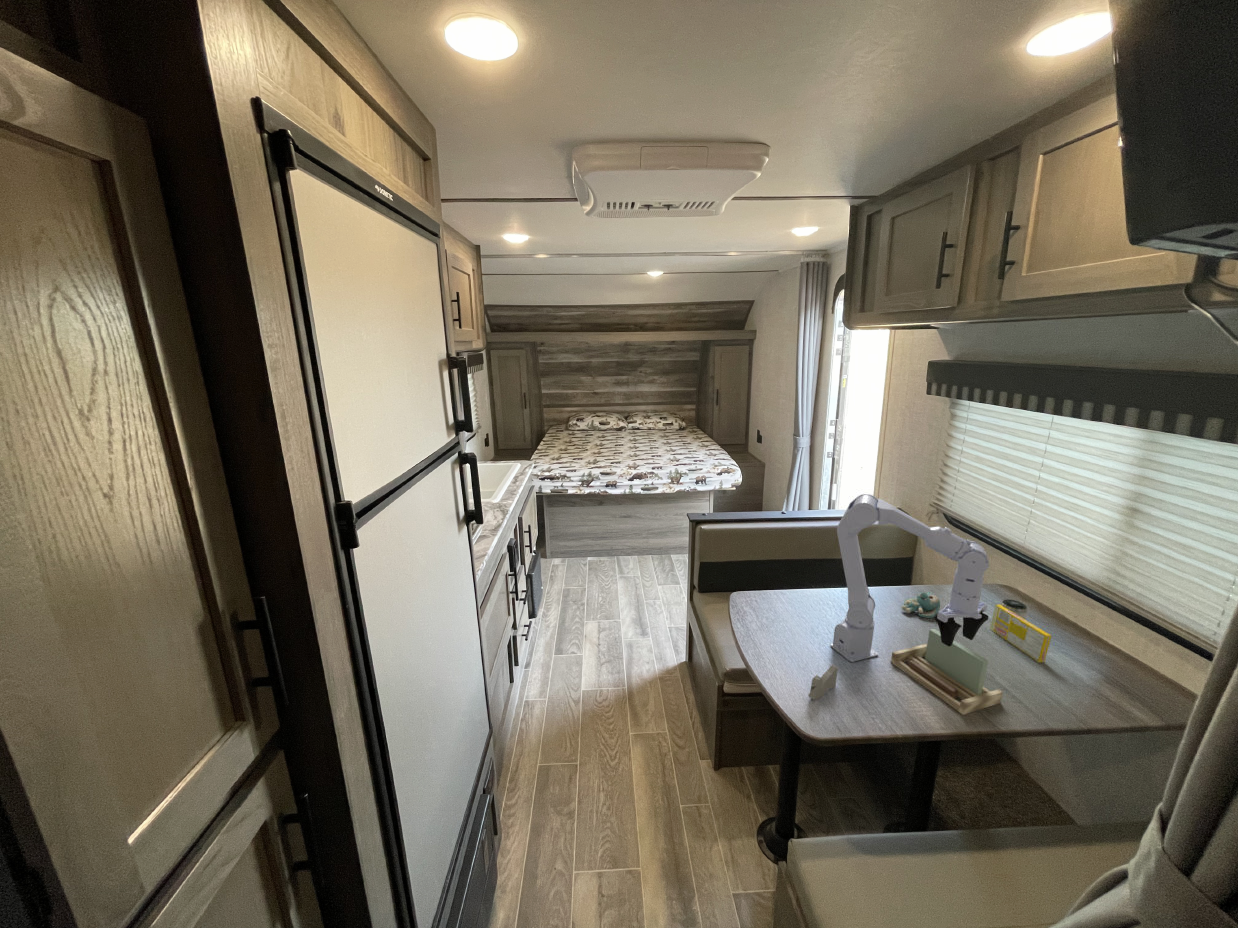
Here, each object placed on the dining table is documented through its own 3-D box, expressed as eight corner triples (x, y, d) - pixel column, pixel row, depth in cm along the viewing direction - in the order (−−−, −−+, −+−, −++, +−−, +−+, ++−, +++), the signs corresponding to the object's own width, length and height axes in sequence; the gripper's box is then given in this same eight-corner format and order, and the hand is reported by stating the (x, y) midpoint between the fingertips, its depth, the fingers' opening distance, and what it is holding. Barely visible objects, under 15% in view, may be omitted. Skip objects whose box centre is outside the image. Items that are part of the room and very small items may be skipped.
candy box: (1046, 662, 129) (1052, 635, 127) (1038, 663, 129) (1045, 635, 127) (995, 628, 144) (1000, 603, 142) (988, 628, 144) (993, 603, 142)
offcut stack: (951, 701, 115) (953, 691, 114) (907, 670, 126) (909, 660, 125) (958, 699, 116) (960, 688, 115) (914, 668, 127) (916, 658, 126)
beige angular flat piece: (835, 687, 120) (812, 703, 114) (830, 683, 121) (807, 700, 115) (837, 666, 119) (814, 682, 113) (832, 663, 120) (809, 679, 114)
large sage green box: (976, 698, 116) (983, 661, 114) (924, 662, 129) (929, 629, 126) (980, 696, 116) (988, 660, 114) (928, 661, 129) (934, 628, 127)
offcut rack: (963, 714, 111) (965, 703, 110) (890, 661, 129) (892, 652, 128) (1000, 702, 114) (1002, 691, 113) (924, 653, 133) (926, 643, 132)
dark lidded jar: (1027, 633, 142) (1033, 609, 140) (1002, 630, 143) (1007, 606, 141) (1016, 622, 147) (1021, 598, 146) (992, 619, 149) (997, 596, 147)
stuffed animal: (891, 590, 156) (923, 580, 158) (892, 609, 158) (923, 599, 160) (917, 607, 146) (951, 596, 148) (917, 627, 148) (951, 616, 150)
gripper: (961, 605, 111) (952, 656, 115) (1003, 594, 116) (993, 643, 120) (932, 590, 118) (924, 639, 121) (974, 581, 123) (965, 628, 126)
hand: (957, 640), depth 121 cm, fingers open, 7 cm apart
